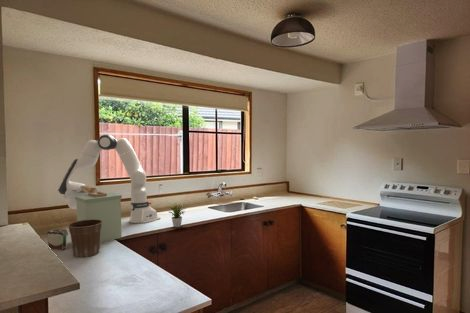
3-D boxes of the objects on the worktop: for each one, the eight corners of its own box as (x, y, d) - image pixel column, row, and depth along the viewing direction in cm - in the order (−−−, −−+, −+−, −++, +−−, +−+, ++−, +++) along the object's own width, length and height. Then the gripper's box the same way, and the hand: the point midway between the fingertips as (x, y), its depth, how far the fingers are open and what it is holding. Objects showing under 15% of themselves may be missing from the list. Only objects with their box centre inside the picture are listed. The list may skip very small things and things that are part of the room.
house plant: (182, 229, 203) (182, 205, 203) (163, 229, 206) (162, 204, 205) (190, 224, 217) (189, 201, 217) (171, 223, 220) (171, 201, 219)
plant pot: (61, 258, 153) (60, 226, 152) (81, 248, 169) (80, 218, 168) (91, 260, 151) (90, 227, 150) (109, 249, 167) (108, 219, 166)
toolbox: (111, 232, 199) (110, 190, 198) (122, 237, 187) (121, 192, 186) (76, 239, 185) (75, 193, 184) (86, 245, 173) (84, 197, 172)
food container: (73, 247, 171) (73, 229, 170) (64, 250, 165) (64, 232, 164) (55, 245, 174) (55, 227, 174) (46, 249, 168) (45, 230, 168)
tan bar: (85, 189, 206) (85, 185, 206) (95, 192, 193) (95, 187, 193) (80, 190, 203) (80, 185, 203) (90, 193, 190) (89, 188, 190)
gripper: (61, 193, 204) (67, 184, 195) (93, 190, 218) (100, 182, 209) (63, 202, 202) (68, 194, 193) (95, 198, 216) (102, 190, 207)
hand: (85, 187), depth 201 cm, fingers closed on tan bar, 3 cm apart
